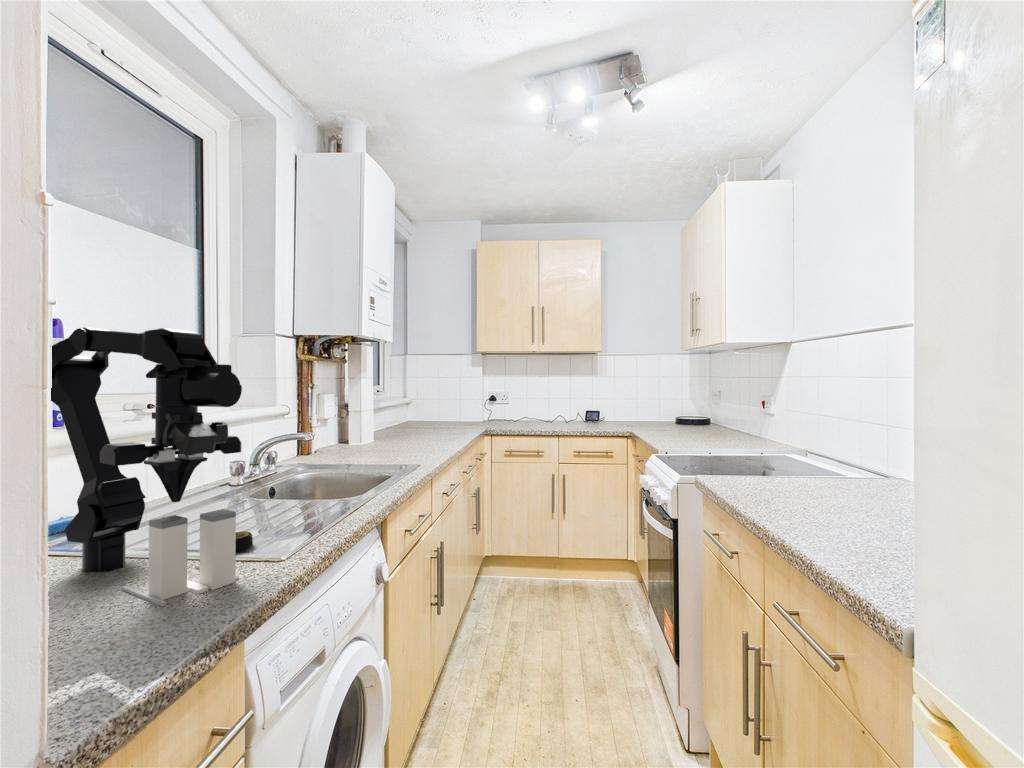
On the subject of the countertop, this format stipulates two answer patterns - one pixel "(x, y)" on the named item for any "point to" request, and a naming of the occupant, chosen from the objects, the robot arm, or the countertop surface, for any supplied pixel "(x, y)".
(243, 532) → the tape measure
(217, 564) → the tab
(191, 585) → the switch board
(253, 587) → the countertop surface
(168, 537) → the tab
